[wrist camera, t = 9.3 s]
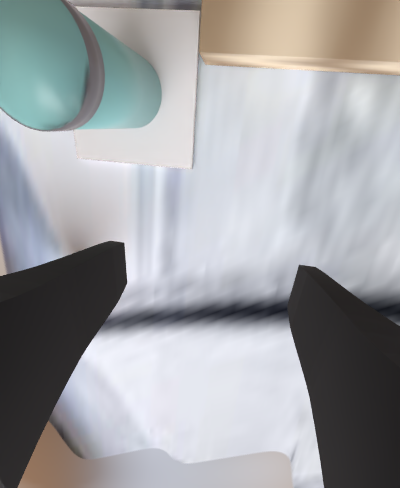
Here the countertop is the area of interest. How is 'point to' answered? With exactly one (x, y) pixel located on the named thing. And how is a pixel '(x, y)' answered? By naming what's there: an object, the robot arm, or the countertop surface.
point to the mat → (172, 85)
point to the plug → (70, 71)
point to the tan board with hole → (302, 34)
